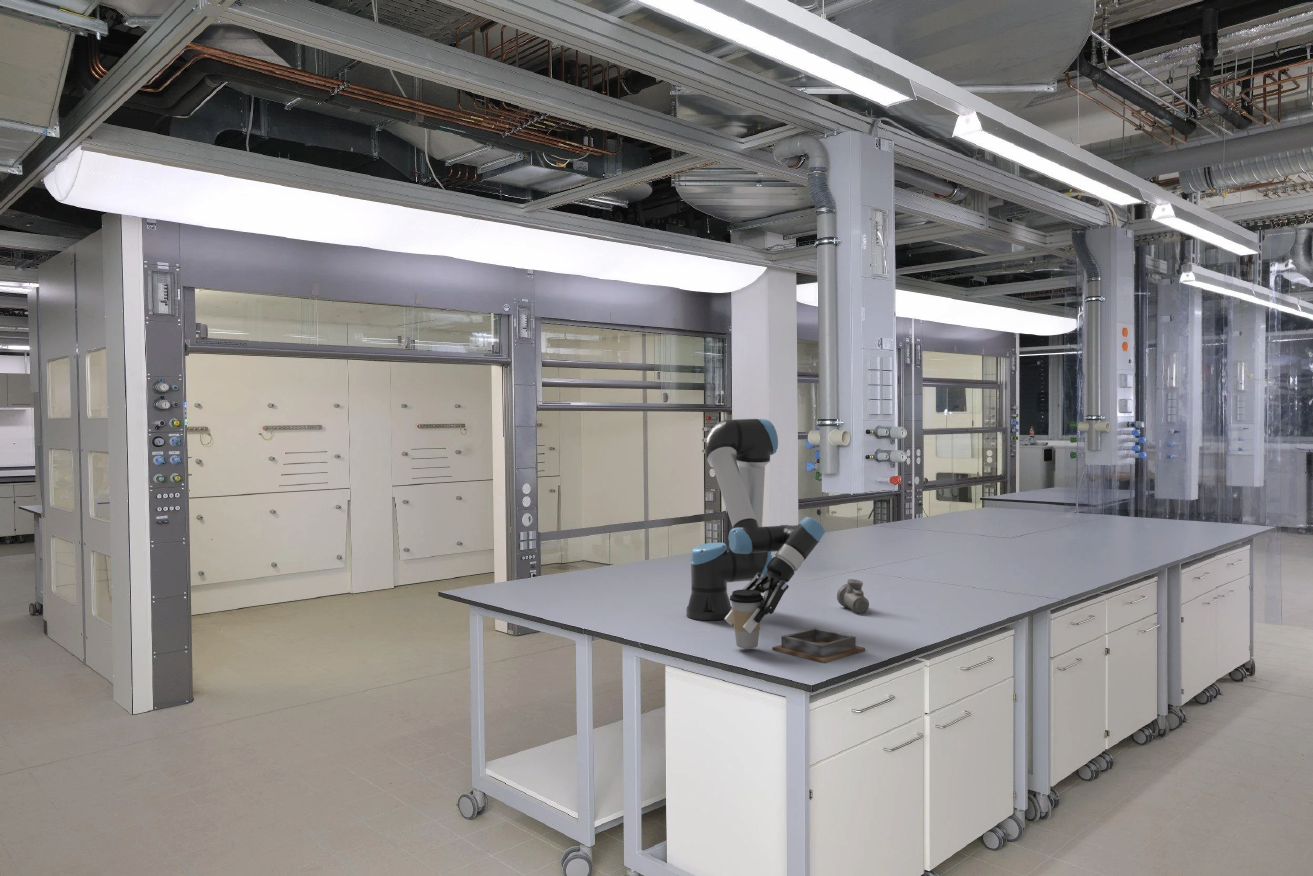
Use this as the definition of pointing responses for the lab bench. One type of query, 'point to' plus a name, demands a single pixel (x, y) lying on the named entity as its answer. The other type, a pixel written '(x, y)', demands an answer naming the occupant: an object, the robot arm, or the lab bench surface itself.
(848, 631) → the lab bench surface
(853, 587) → the pipe fitting
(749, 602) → the coffee cup
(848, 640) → the square rimmed tray
